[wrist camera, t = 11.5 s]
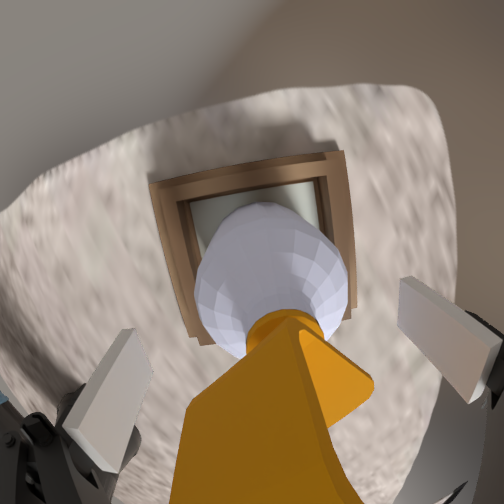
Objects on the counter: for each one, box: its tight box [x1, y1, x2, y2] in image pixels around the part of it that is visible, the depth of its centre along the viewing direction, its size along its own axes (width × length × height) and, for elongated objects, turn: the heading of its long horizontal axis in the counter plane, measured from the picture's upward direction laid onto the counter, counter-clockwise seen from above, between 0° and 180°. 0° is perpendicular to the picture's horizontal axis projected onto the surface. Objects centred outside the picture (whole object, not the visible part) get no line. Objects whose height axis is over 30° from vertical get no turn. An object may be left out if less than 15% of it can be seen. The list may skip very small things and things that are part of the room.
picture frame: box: [149, 150, 357, 346], centre depth 24 cm, size 18×16×4 cm
